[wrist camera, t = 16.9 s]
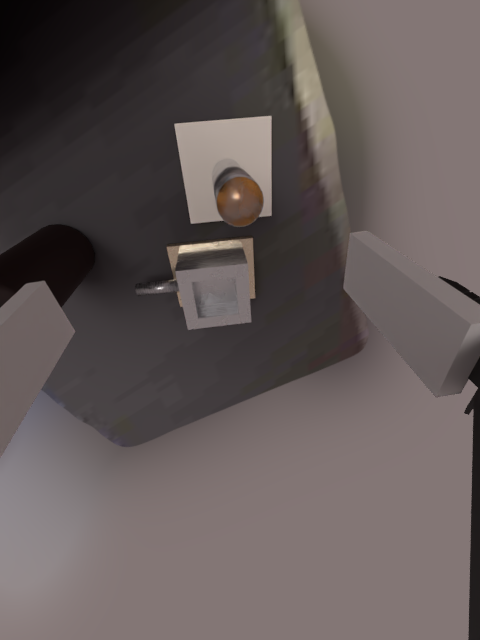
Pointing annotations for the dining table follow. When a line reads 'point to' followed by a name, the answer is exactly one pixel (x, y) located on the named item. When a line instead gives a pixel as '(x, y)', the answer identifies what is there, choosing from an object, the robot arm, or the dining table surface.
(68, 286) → the bottle
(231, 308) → the grey box
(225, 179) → the metal cylinder
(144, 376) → the dining table surface
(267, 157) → the pad
